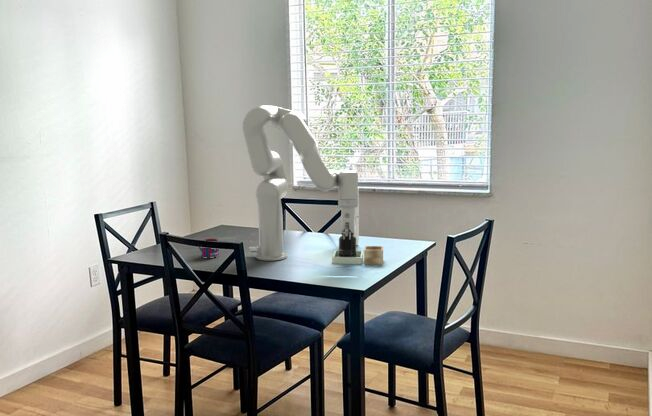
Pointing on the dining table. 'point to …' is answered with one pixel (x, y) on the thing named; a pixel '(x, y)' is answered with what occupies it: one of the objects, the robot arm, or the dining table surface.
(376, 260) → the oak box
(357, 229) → the cylindrical container
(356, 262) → the tray
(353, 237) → the supplement bottle
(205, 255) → the mug
